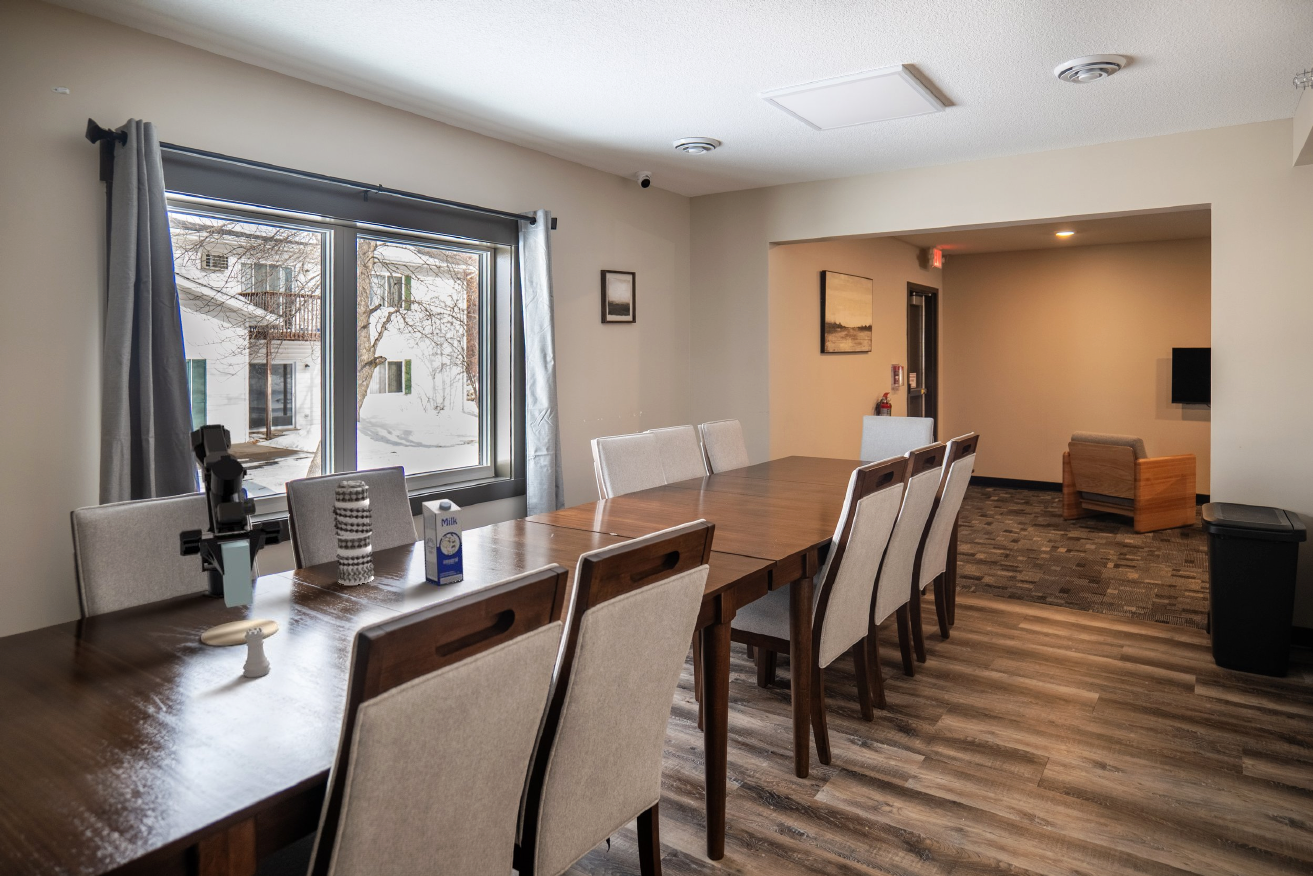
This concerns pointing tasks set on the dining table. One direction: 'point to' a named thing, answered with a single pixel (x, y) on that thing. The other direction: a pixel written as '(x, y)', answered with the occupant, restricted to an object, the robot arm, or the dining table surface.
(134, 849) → the dining table surface
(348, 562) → the patterned cylinder tower
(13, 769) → the dining table surface
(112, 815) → the dining table surface
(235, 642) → the board
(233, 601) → the teal post
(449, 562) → the milk carton
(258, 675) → the rook chess piece
